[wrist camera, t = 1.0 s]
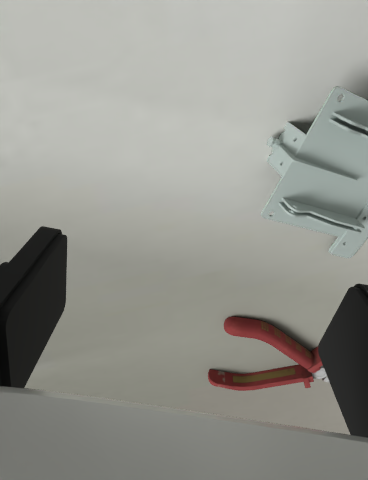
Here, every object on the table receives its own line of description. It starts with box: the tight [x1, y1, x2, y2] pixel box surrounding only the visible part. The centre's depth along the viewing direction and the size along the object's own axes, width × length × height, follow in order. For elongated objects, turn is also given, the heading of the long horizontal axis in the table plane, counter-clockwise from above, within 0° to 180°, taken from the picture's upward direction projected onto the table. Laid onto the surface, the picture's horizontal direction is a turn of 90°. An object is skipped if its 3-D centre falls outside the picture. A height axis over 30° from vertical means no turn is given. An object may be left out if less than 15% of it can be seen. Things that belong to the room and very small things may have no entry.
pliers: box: [208, 317, 329, 391], centre depth 42 cm, size 12×20×3 cm, turn 80°
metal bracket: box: [261, 86, 368, 258], centre depth 29 cm, size 14×6×15 cm
